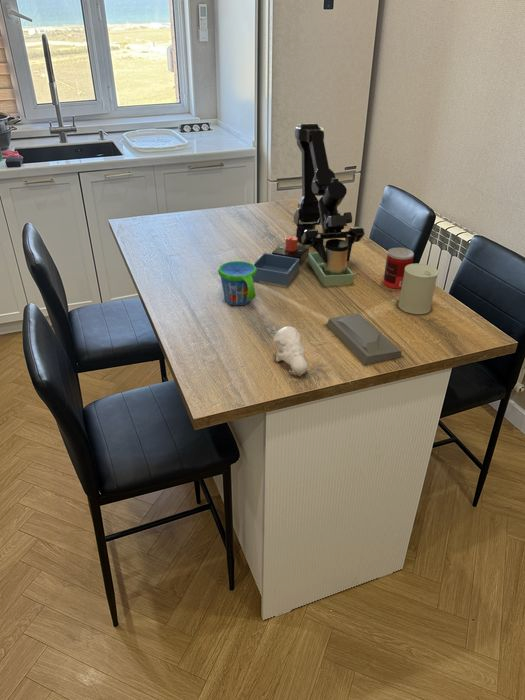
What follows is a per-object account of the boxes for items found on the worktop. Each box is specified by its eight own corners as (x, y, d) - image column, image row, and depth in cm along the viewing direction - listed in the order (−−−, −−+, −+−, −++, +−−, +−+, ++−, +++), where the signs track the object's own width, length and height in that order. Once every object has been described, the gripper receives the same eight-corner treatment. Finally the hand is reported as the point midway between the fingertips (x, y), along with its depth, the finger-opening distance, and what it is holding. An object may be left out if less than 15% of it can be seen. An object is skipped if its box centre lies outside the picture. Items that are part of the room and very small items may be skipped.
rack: (307, 263, 182) (308, 252, 180) (334, 261, 184) (335, 251, 182) (323, 287, 167) (324, 276, 165) (352, 285, 169) (354, 274, 167)
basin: (263, 265, 180) (263, 252, 177) (299, 272, 176) (299, 258, 174) (249, 280, 170) (249, 267, 167) (287, 287, 166) (287, 273, 164)
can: (412, 317, 153) (420, 278, 146) (391, 303, 159) (397, 265, 153) (437, 310, 156) (446, 271, 150) (416, 296, 163) (423, 259, 157)
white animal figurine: (297, 321, 132) (318, 350, 123) (294, 349, 137) (313, 379, 128) (272, 325, 130) (292, 355, 121) (270, 353, 135) (288, 384, 126)
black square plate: (281, 250, 191) (281, 241, 189) (308, 254, 188) (309, 246, 186) (271, 260, 183) (272, 251, 181) (300, 265, 180) (300, 256, 179)
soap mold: (365, 364, 132) (367, 352, 130) (326, 325, 148) (327, 314, 146) (401, 356, 136) (403, 344, 134) (359, 319, 151) (361, 307, 149)
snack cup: (210, 292, 163) (209, 260, 157) (243, 286, 167) (243, 255, 161) (231, 316, 151) (231, 282, 145) (265, 308, 155) (266, 275, 149)
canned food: (410, 283, 171) (416, 250, 165) (404, 293, 165) (410, 259, 159) (386, 278, 174) (391, 245, 168) (379, 288, 168) (385, 254, 162)
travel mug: (333, 271, 176) (336, 237, 170) (349, 278, 171) (353, 243, 165) (317, 277, 172) (320, 242, 166) (334, 284, 167) (338, 249, 161)
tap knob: (287, 246, 186) (287, 234, 184) (298, 248, 185) (299, 235, 183) (283, 250, 183) (284, 238, 181) (294, 252, 182) (295, 240, 179)
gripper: (306, 203, 161) (314, 253, 158) (366, 201, 164) (375, 249, 161) (298, 220, 172) (305, 267, 169) (354, 217, 175) (362, 263, 172)
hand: (336, 261), depth 167 cm, fingers closed on travel mug, 7 cm apart
